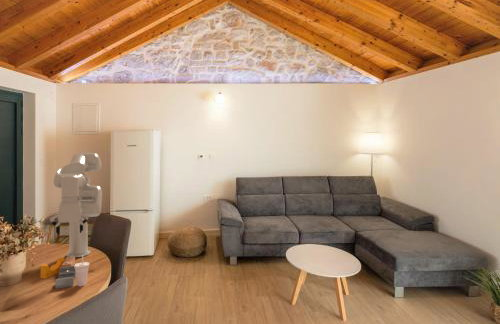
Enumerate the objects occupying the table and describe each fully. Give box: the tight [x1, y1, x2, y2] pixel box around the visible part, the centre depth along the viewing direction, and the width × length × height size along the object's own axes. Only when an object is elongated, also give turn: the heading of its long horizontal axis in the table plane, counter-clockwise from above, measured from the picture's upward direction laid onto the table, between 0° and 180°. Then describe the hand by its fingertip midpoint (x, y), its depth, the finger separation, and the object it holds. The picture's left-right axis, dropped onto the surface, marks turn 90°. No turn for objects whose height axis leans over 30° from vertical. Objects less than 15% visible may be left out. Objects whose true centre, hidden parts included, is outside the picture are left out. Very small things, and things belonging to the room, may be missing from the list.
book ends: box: [54, 266, 76, 289], centre depth 147 cm, size 17×7×4 cm, turn 26°
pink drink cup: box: [74, 255, 90, 287], centre depth 143 cm, size 6×6×14 cm
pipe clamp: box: [40, 257, 65, 280], centre depth 155 cm, size 12×4×6 cm, turn 169°
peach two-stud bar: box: [62, 256, 76, 267], centre depth 161 cm, size 12×4×5 cm, turn 21°
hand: (69, 233), depth 154 cm, fingers open, 9 cm apart
